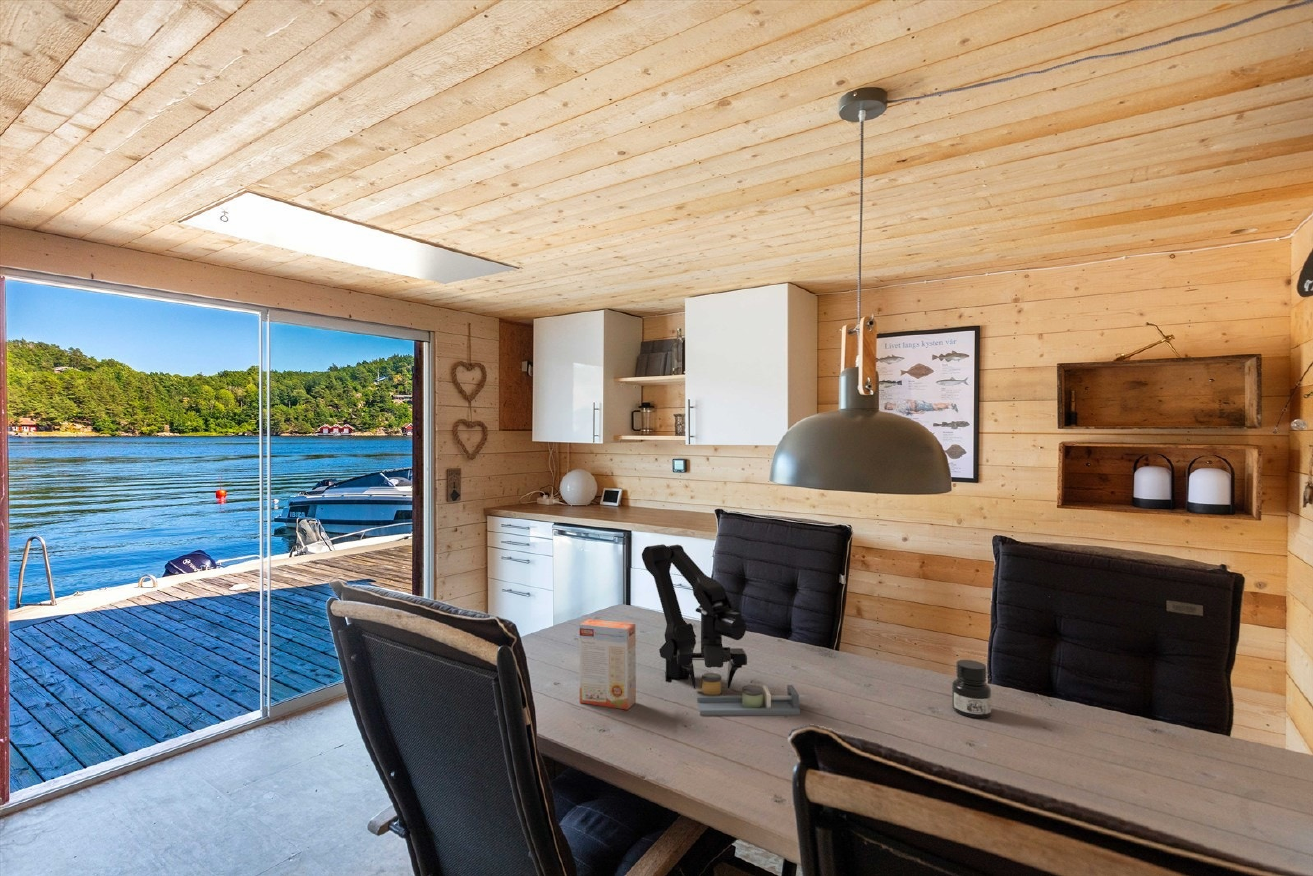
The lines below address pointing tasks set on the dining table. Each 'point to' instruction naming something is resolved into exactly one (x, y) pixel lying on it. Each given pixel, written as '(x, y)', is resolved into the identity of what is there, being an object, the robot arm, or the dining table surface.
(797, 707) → the lane
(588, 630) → the cracker box
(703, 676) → the jar
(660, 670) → the dining table surface
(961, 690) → the ink bottle
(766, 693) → the pusher
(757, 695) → the jar in lane
